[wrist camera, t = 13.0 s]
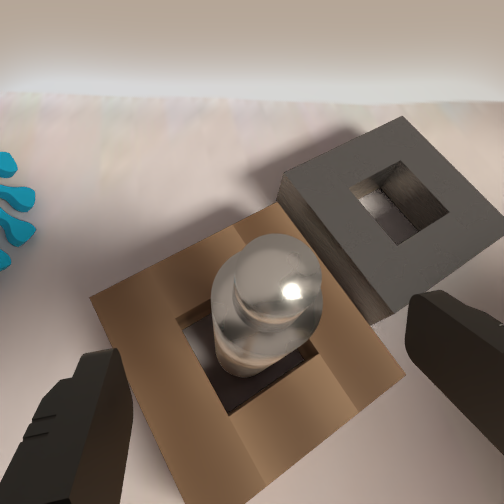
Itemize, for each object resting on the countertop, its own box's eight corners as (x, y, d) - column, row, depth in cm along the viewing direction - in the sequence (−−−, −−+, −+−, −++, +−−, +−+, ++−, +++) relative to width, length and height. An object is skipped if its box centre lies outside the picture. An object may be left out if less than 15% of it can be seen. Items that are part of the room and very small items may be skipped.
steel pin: (252, 308, 19) (295, 192, 9) (283, 356, 18) (375, 295, 8) (204, 337, 19) (182, 249, 8) (234, 389, 18) (257, 374, 7)
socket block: (382, 146, 25) (402, 115, 23) (479, 248, 22) (514, 227, 20) (276, 200, 23) (283, 172, 20) (370, 325, 20) (394, 314, 17)
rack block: (270, 226, 22) (277, 201, 19) (378, 378, 18) (406, 374, 16) (108, 312, 19) (89, 297, 16) (204, 513, 15) (201, 538, 13)
